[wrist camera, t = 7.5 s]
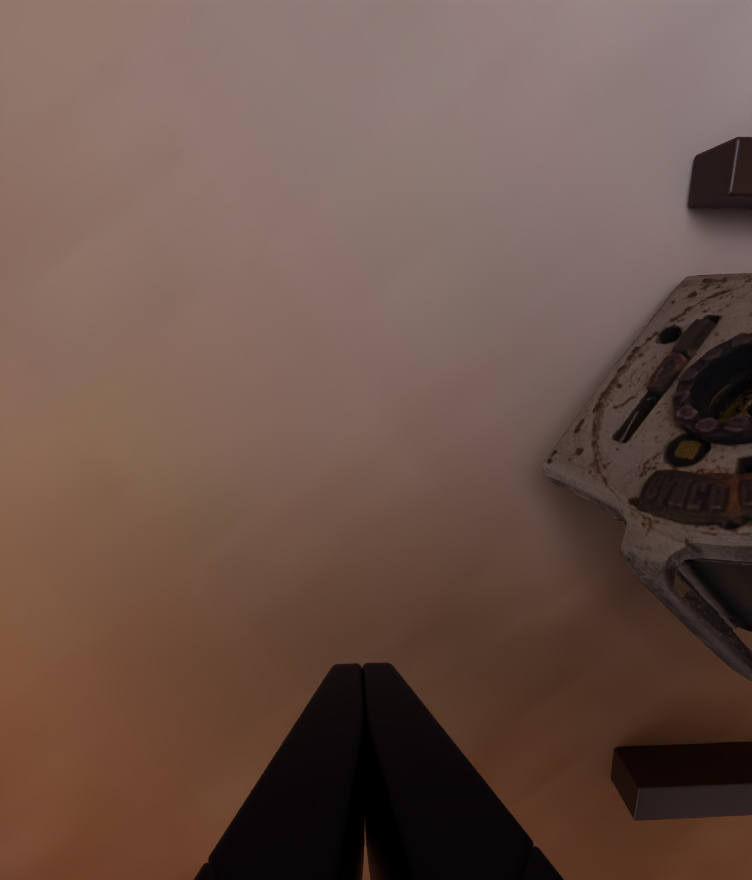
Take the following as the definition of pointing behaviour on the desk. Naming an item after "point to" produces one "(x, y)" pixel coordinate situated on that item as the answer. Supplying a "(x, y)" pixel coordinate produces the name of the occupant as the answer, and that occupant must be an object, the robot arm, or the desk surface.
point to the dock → (714, 765)
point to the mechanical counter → (679, 458)
